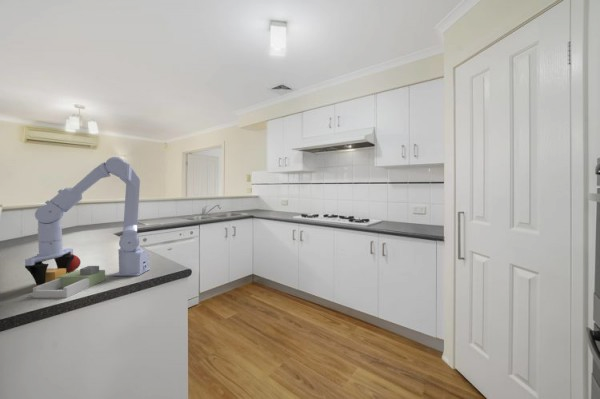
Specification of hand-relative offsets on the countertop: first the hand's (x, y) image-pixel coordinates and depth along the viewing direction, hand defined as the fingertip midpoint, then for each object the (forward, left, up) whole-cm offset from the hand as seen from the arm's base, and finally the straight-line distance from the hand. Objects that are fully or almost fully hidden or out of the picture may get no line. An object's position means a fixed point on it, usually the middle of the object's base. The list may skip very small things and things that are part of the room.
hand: (52, 280), depth 85 cm
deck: (-10, +3, -1) cm, 10 cm away
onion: (+4, -12, -2) cm, 13 cm away
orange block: (0, 0, -2) cm, 2 cm away
